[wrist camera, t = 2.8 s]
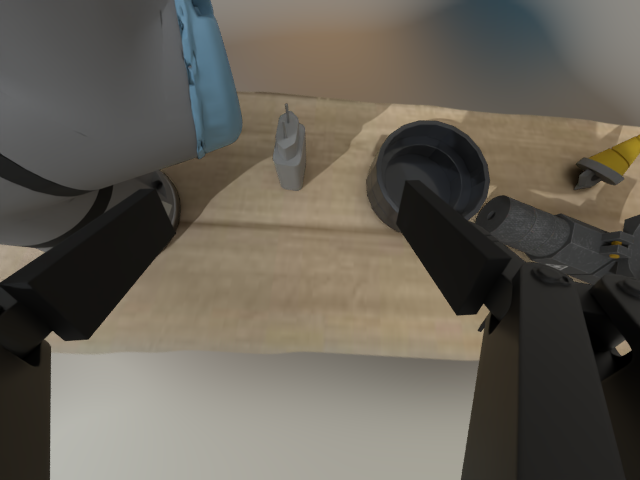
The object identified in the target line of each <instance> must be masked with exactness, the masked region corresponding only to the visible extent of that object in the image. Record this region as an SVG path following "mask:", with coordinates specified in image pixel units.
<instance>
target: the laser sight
mask: <svg viewBox="0 0 640 480" xmlns="http://www.w3.org/2000/svg"><path fill="white" fill-rule="evenodd" d="M475 224H477V225H479V226H481V227H483V228H484V229H485V230H486V231H488V232H489V233H490V234H491V235H492V236H494V237H495V238H496V239H498V240H499V242H501V243H503V244H505V245H508V246H510V247H513V248H515V249H517V250H520V251H522V252H525V254H526V255H527V256H528V257H529V258H530V259H531V260H533V261H535V262H538V263H540V264H545V265H548V266H550V267H553V268H556V269H557V270H559V271H561V272H563V273H565V274H567V275H570V276H572V277H575V278H577V279H580V280H582V281H585V282H587V283H589V284H592V285H594V284H595V283H596V282H597V281H598V280H599V279H600V278H601V277H602V276H603V275H606V274H617V275H623V276H626V277H632V278H635V279H638V280H639V281H640V215H637V216H634V217H632V218H629V219H626V220H625V223H624V229H623V232H622V231H618V232H611V233H609V232H606V231H604V230H600V229H599V228H596V227H594V226H591V225H589V224H586V223H584V222H581V221H579V220H576V219H574V218H571V217H569V216H566V215H564V214H557V215H552V214H550V213H547V212H544V211H542V210H539V209H537V208H534V207H532V206H530V205H527V204H524V203H522V202H519V201H517V200H515V199H512V198H509V197H507V196H504V195H502V196H498V197H495V198H493V199H492V200H490V201H489V202H488V203H487V204H486V205H485V206H484V207H483V208H482V210H481V211H480V213H479V215H478V217H477V219H476V223H475Z"/></svg>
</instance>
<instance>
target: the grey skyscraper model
mask: <svg viewBox="0 0 640 480" xmlns="http://www.w3.org/2000/svg"><path fill="white" fill-rule="evenodd" d="M285 109H286V113H284V114H283V115H281V116H280V118H279V121H278V127H277V133H276V143H275V148H274V154H273V161H274V164H275V167H276V171H277V174H278V177H279V181H280V184H281V187H282V188H284V189H288V190H295V191H299V190H301V188H302V185H303V179H304V172H305V166H306V142H305V127H304V126H303V125H302V124H300V123H299V120H298V118H297V116H296V115H295V114H294V113H293V112H292V111H288V104H287V103H286V104H285Z"/></svg>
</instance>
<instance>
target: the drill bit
mask: <svg viewBox="0 0 640 480" xmlns="http://www.w3.org/2000/svg"><path fill="white" fill-rule="evenodd" d="M639 153H640V135H638V136H636V137H633V138H631V139H629V140H627V141H625V142H622V143H620V144H618V145H616V146H614V147H612V149H607V150H605V151H603V152H601V153H598V154H596V155H594V156H592V157H590V158H582V159H581V160H580V161H579V162H577V163H576V165H577V166H578V167H579V168H580V169H582V170H583V171H584V172H583V173H581V174H580V176H579V182H578V184H577V185H576V187H575V189H574V190H576V189H583V188H590V187H592V186H594V185H595V184H597V183H598V182H599V181H603V182H605V183H608V184H611V185H617V184H618V183H620V182H621V181H623V180H624V178H623V177H622V176H623V175H624V173H625V172H626V171H627V169H628V168H629V167H630V165H631V164H632V163H633V161H634V160H635V159H636V157H637V156H638V155H639Z"/></svg>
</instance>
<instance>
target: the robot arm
mask: <svg viewBox="0 0 640 480" xmlns="http://www.w3.org/2000/svg"><path fill="white" fill-rule="evenodd" d="M241 130H242V115H241V110H240V105H239V101H238V96H237V92H236V88H235V84H234V80H233V76H232V73H231V69H230V65H229V61H228V58H227V54H226V50H225V47H224V43H223V40H222V36H221V33H220V30H219V27H218V23H217V21H216V19H215V17H214V15H213V7H212V4H211V1H210V0H0V244H2V245H11V246H22V247H31V248H37V249H39V250H41V251H44V252H45V253H44V254H42V255H41V256H39V257H38V258H36V259H35V260H33V261H32V262H30V263H29V264H27V265H26V266H24V267H23V268H21V269H20V270H18V271H17V272H15V273H14V274H12V275H11V276H9V277H8V278H6V279H5V280H3V281H2V282H0V480H50V398H51V397H50V396H51V395H50V394H51V346H50V344H49V343H48V342H47V341H46V340H44V339H45V338H46V337H47V336H48V335H49V334H50V333H51V332H52V331H54V332H55V333H56V334H57V335H58V336H59V337H61V338H62V339H63V340H64V341H73V340H88V339H89V338H90V337H91V336H92V334H93V333H94V332H95V331H96V330H97V328H98V327H99V326H100V325H101V323H102V322H103V321H104V320H105V319H106V317H107V316H108V315H109V314H110V313H111V311H112V310H113V309H114V308H115V306H116V305H117V304H118V303H119V302H120V300H121V299H122V298H123V297H124V296H125V294H126V293H127V292H128V291H129V289H130V288H131V287H132V286H133V285H134V283H135V282H136V281H137V280H138V279H139V277H140V276H141V275H142V274H143V272H144V271H145V270H146V269H147V268H148V266H149V265H150V264H151V263H152V261H153V260H154V259H155V258H156V257H157V255H158V254H159V253H160V252H161V251H162V250H163V249H164V248H165V246H166V245H167V244H168V243H169V241H170V240H171V238H172V237H173V236H174V235H175V234H176V232H175V231H176V228H177V226H178V222H179V217H180V201H179V196H178V193H177V191H176V188H175V186H174V185H173V183H172V182H171V180H170V179H169V178H168V177H167V176H166V175H165V174H164V173H163V172H161V171H160V169H163V168H166V167H169V166H172V165H175V164H178V163H181V162H184V161H187V160H190V159H193V158H196V157H197V158H198V159H201V158H202V157H204V156H205V154H206V153H209V152H211V151H214V150H216V149H219V148H222V147H224V146H227V145H229V144H232V143H233V142H235V141H236V140H237V139H238V137H239V135H240V133H241ZM396 225H397V226H398V228H399V229H400V231H401V232H402V234H403V235H404V237H405V238H406V240H407V241H408V243H409V244H410V246H411V247H412V249H413V250H414V252H415V253H416V255H417V256H418V258H419V259H420V261H421V262H422V264H423V265H424V267H425V268H426V270H427V271H428V273H429V274H430V276H431V277H432V279H433V280H434V282H435V283H436V285H437V286H438V288H439V289H440V291H441V293H442V294H443V296H444V297H445V299H446V300H447V302H448V303H449V305H450V306H451V308H452V309H453V311H454V312H455V314H456V315H473V314H477V313H478V311H479V309H480V308H481V306H482V305H483V303H484V304H485V306H486V307H487V308H488V309H489V311H490V312H489V314H488V315H487V317H486V318H485V320H484V321H483V323H482V324H481V326H480V327H479V329H478V331H480V332H481V331H482V330H483V328H484V334H483V341H482V347H481V354H480V360H479V366H478V373H477V380H476V386H475V392H474V399H473V405H472V411H471V419H470V424H469V431H468V437H467V444H466V451H465V457H464V463H463V469H462V476H461V480H640V281H639V280H638V279H635V278H632V277H626V276H623V275H617V274H606V275H603V276H602V277H601V278H600V279H599V280H598V281H597V282H596V283H595V284H594V285H591V284H585V283H578V282H574V281H573V280H572V279H571V278H570V277H569V276H567V275H566V274H565V273H563V272H561V271H559V270H557V269H556V268H553V267H550V266H548V265H545V264H540V263H535V262H527V263H526V262H525V261H524V260H522V259H521V258H520V257H519V256H518V255H516V254H515V253H514V252H513V251H511V250H510V249H509V248H508V247H506V246H505V245H504V244H503V243H501V242H499V240H498V239H496V238H495V237H494V236H492V235H491V234H490V233H489V232H488V231H486V230H485V229H484V228H483V227H481V226H479V225H477V224H475V223H473V222H469V221H468V220H466V219H465V218H464V217H463V216H462V215H460V214H459V213H458V212H457V211H456V210H454V209H453V208H452V207H451V206H450V205H448V204H447V203H446V202H445V201H444V200H442V199H441V198H440V197H439V196H438V195H436V194H435V193H434V192H433V191H432V190H431V189H429V188H428V187H427V186H426V185H425V184H423V183H422V182H421V181H420V180H405V185H404V189H403V194H402V198H401V203H400V207H399V212H398V216H397V221H396ZM624 340H626V341H627V342H628V344H629V345H630V347H631V349H632V351H630V352H629V353H627V354H626V355H623V356H621V355H620V354H619V353H618V351H617V350H616V348H615V347H616V346H617V345H619V344H620V343H622V342H623V341H624Z"/></svg>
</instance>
